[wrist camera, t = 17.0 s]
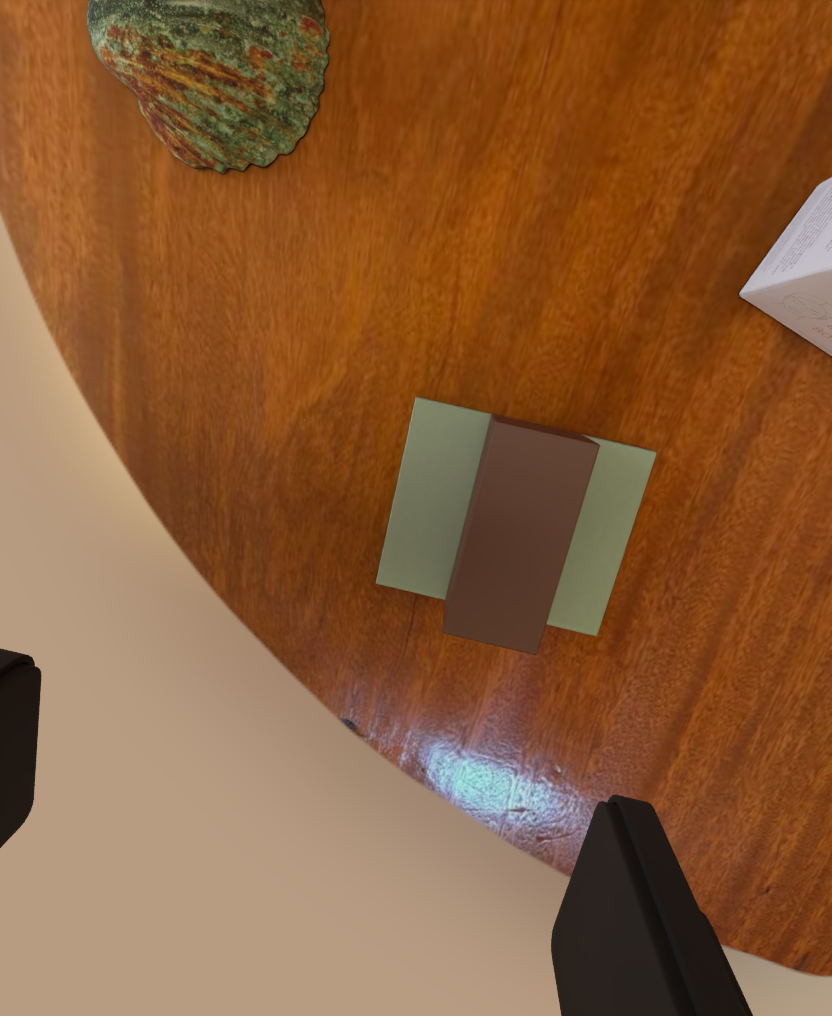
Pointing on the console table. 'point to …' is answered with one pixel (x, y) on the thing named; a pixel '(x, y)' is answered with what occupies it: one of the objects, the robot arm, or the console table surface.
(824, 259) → the small box
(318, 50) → the seashell
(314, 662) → the console table surface
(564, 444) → the brown rectangular block
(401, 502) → the mat
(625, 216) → the console table surface
